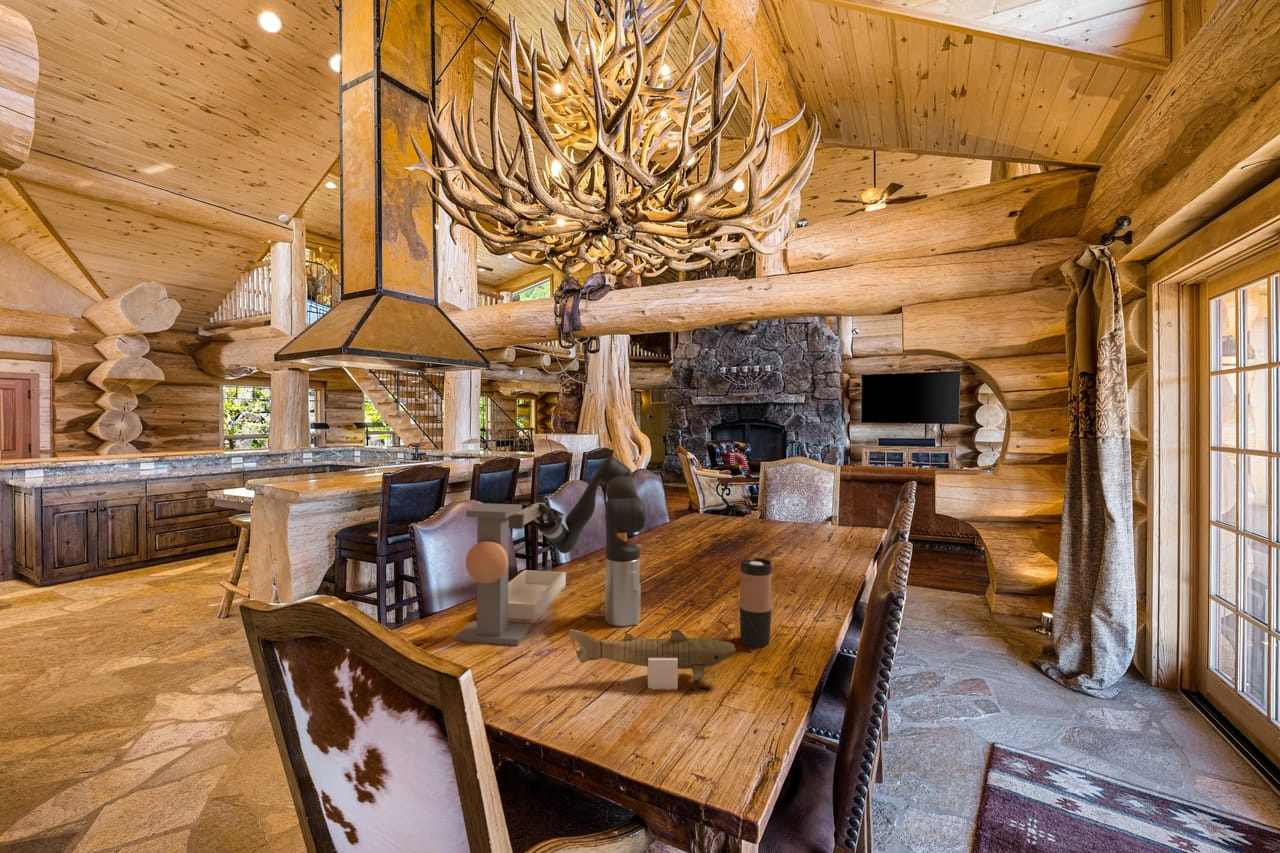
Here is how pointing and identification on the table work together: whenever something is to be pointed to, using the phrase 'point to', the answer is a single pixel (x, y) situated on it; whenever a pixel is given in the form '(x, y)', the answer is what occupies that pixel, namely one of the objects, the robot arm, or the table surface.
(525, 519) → the grey brown long block
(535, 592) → the off-white tray
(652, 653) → the wood carving
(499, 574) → the stand
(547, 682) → the table surface
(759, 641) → the travel mug
